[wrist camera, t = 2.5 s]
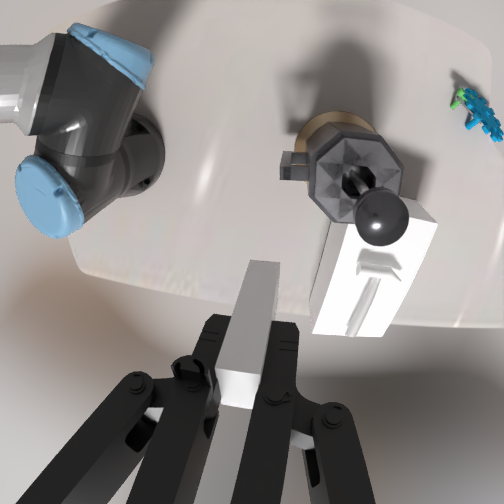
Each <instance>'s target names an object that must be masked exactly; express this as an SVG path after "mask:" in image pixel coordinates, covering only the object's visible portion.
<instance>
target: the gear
mask: <svg viewBox="0 0 504 504" xmlns="http://www.w3.org/2000/svg"><path fill="white" fill-rule="evenodd" d="M456 93H457V95H458V96H457V100H456V101H455V102H454V103H453V104H452V105H451V106H450V107H451V108H452V109H454V108H455V107H456V106H458V105H459V104H460V103H461V104H462V105H463V106H464V107H465V108H466V109H467V110H468V111H469V112H470V113H471V114H472V116H473V117H474V119H473V120H471V121H470V122H469V123H467V124H466V125H465V127H466V128H467V129H468V130H469V129H471V128H472V127H473V126H475V125H476V124H478V123H483V124H484V126H482V129H483V131H484V132H485V134H488V133H489V132H491V135H490V137H491V139H492V140H493V141H494V142H496V141H498V142H501V141H502V140H503V138H502V135H503V134H504V133H503V131H502V130H501V129H500V128H499V127H500V126H501V124H500V122H499V120H498V119H496V118H495V117H494V116H493V115H494V114H495V113H494V112H493V109H492V108H488V107H487V106H486V105H485V104H486V103H487V102H486V101H485V99H484V98H483V97H481V98H480V99H479V98H478V96H479V95H478V93H477V92H476V91H475V90H472V91H471V89H470V88H466V89H465V91H464V89H463V88H460V89H459V90H458V91H457V92H456Z"/></svg>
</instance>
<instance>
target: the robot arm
mask: <svg viewBox="0 0 504 504" xmlns="http://www.w3.org/2000/svg"><path fill="white" fill-rule="evenodd" d="M67 32H68V33H67V34H62V33H51V34H49V35H48V36H46V37H45V38H43V39H42V40H41V41H39V42H38V43H36V44H34V45H0V123H15V124H16V125H17V126H18V127H19V128H20V130H21V131H22V132H23V134H24V135H26V136H31V135H37V139H36V145H35V152H34V154H33V155H30V156H27V157H26V158H25V159H24V160H23V161H22V163H21V164H19V166H18V168H17V170H16V175H15V187H16V193H17V196H18V200H19V202H20V205H21V207H22V209H23V211H24V213H25V215H26V216H27V218H28V219H29V220H30V222H31V223H32V224H33V225H34V226H35V227H36V228H37V229H38V230H39V231H40V232H42V233H43V234H45V235H46V236H48V237H52V238H56V239H59V238H63V237H66V236H68V235H70V234H71V233H73V232H74V231H76V230H78V229H80V228H81V227H82V226H83V224H84V223H86V222H87V221H88V220H89V219H91V218H92V217H93V216H94V215H96V214H97V213H98V212H100V211H101V210H102V209H104V208H105V207H106V206H108V205H109V204H110V203H112V202H113V201H114V200H116V199H117V198H122V197H129V196H135V195H138V194H140V193H142V192H144V191H145V190H147V189H148V188H149V187H151V186H152V185H153V184H154V183H155V182H156V181H157V179H158V178H159V176H160V174H161V172H162V169H163V166H164V160H165V151H164V145H163V141H162V138H161V136H160V134H159V132H158V130H157V129H156V128H155V126H154V125H153V124H152V123H151V122H150V121H149V120H147V119H146V118H144V117H142V116H140V115H136V114H133V112H134V110H135V107H136V105H137V103H138V100H139V98H140V96H141V94H142V91H143V90H145V88H146V86H145V84H146V81H147V79H148V76H149V74H150V72H151V69H152V67H153V65H154V56H153V54H152V52H151V51H150V50H148V49H146V48H144V47H142V46H140V45H137V44H135V43H133V42H130V41H128V40H125V39H123V38H120V37H118V36H115V35H112V34H109V33H107V32H104V31H101V30H98V29H95V28H92V27H89V26H86V25H83V24H80V23H74V24H72V25H71V27H70V28H68V30H67ZM279 274H280V262H269V261H258V260H250V262H249V265H248V268H247V271H246V274H245V277H244V280H243V283H242V286H241V290H240V293H239V296H238V299H237V302H236V305H235V308H234V311H233V314H232V316H226V315H219V314H213V315H212V316H211V317H210V318H209V319H208V320H207V321H206V322H205V325H204V327H203V329H202V332H201V335H200V337H199V340H198V342H197V344H196V347H195V349H194V351H193V354H192V355H186V356H183V357H180V358H178V359H177V360H175V361H174V362H173V364H172V365H171V369H172V371H173V374H174V376H175V377H173V378H165V379H164V378H163V379H152V378H151V377H150V376H149V375H148V374H147V373H144V372H141V371H139V372H132V373H129V374H128V375H127V376H125V377H124V378H123V379H122V380H121V381H120V383H119V384H118V385H117V386H116V387H115V388H114V389H113V391H112V392H111V393H110V394H109V395H108V396H107V397H106V398H105V400H104V401H103V402H102V403H101V404H100V405H99V406H98V408H97V409H96V410H95V411H94V412H93V413H92V414H91V416H90V417H89V418H88V419H87V420H86V421H85V422H84V424H83V425H82V426H81V427H80V428H79V429H78V431H77V432H76V433H75V434H74V435H73V436H72V437H71V439H70V440H69V441H68V442H67V443H66V444H65V446H64V447H63V448H62V449H61V450H60V452H59V453H58V454H57V455H56V456H55V457H54V459H53V460H52V461H51V462H50V463H49V464H48V466H47V467H46V468H45V469H44V470H43V471H42V473H41V474H40V475H39V476H38V477H37V479H36V480H35V481H34V482H33V483H32V484H31V486H30V487H29V488H28V489H27V490H26V492H25V493H24V494H23V495H22V496H21V498H20V499H19V500H18V501H17V503H16V504H107V503H108V502H109V501H110V500H111V498H112V497H113V496H114V494H115V493H116V492H117V490H118V489H119V488H120V487H121V485H122V484H123V483H124V482H125V480H126V479H127V478H128V476H129V475H130V474H131V472H132V471H133V470H134V469H135V467H136V466H137V464H138V463H139V462H140V461H141V459H142V458H143V457H144V458H143V461H142V463H141V466H140V468H139V471H138V473H137V476H136V479H135V481H134V484H133V486H132V489H131V492H130V494H129V497H128V500H127V502H126V504H193V503H194V500H195V497H196V493H197V490H198V486H199V483H200V479H201V476H202V473H203V469H204V466H205V462H206V459H207V455H208V452H209V449H210V445H211V442H212V438H213V435H214V431H215V427H216V424H217V421H218V417H219V411H218V408H219V404H220V401H221V403H222V404H223V405H229V406H235V407H241V408H247V409H252V414H251V419H250V423H249V427H248V432H247V437H246V441H245V446H244V450H243V454H242V458H241V463H240V467H239V471H238V475H237V480H236V483H235V488H234V492H233V496H232V500H231V503H230V504H280V502H281V495H282V490H283V484H284V478H285V472H286V464H287V458H288V451H289V444H291V445H294V446H297V447H299V448H302V453H303V459H304V465H305V470H306V476H307V482H308V488H309V495H310V501H311V504H376V503H375V499H374V495H373V491H372V487H371V483H370V479H369V475H368V471H367V467H366V463H365V460H364V456H363V453H362V449H361V445H360V442H359V438H358V435H357V431H356V427H355V424H354V421H353V417H352V414H351V412H350V411H349V409H348V408H347V407H346V406H344V405H343V404H340V403H337V402H328V403H325V404H323V405H320V404H317V403H315V402H312V401H309V400H307V399H305V398H304V397H303V396H302V395H300V393H299V392H298V390H297V388H296V370H297V358H298V345H299V330H298V328H297V326H296V324H295V323H292V322H281V321H275V315H276V309H277V302H278V288H279ZM144 455H145V456H144Z"/></svg>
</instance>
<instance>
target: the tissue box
mask: <svg viewBox="0 0 504 504" xmlns="http://www.w3.org/2000/svg"><path fill="white" fill-rule="evenodd" d="M399 197H400V196H399ZM400 199H401V200H402V201H403V202H404V203H405V205H406V207H407V209H408V212H409V224H408V227H407V229H406V231H405V233H404V234H403V236H402V237H401V238H400V239H399V240H398V241H396V242H395V243H393V244H390V245H387V246H373V245H370V244H368V243H366V242H365V241H364V240H363V239H362V238H361V237H360V235H359V233H358V231H357V228H356V226H355V224H345V223H334V222H332V221H331V224H330V228H329V232H328V236H327V240H326V244H325V247H324V251H323V255H322V258H321V262H320V266H319V269H318V273H317V276H316V279H315V283H314V286H313V290H312V293H311V296H310V300H309V306H310V317H311V328H312V333H313V334H327V335H344V336H348V337H355V336H367V337H382V336H383V334H384V332H385V330H386V329H387V327H388V326H389V324H390V322H391V321H392V319H393V317H394V315H395V314H396V312H397V310H398V308H399V306H400V305H401V303H402V301H403V299H404V297H405V295H406V293H407V291H408V289H409V288H410V286H411V284H412V282H413V280H414V278H415V275H416V273H417V271H418V269H419V267H420V265H421V263H422V261H423V258H424V256H425V254H426V252H427V249H428V247H429V245H430V242H431V240H432V238H433V235H434V233H435V230H436V228H437V225H438V223H437V222H436V221H435V220H434V219H433V218H432V217H431V216H430V215H429V213H428V212H427V211H426V210H425V209H424V208H423V207H422V206H421V205H420V204H419V203H418V202H417V201H415V200H411V199H408V198H404V197H400Z"/></svg>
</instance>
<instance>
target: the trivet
mask: <svg viewBox="0 0 504 504" xmlns="http://www.w3.org/2000/svg"><path fill="white" fill-rule="evenodd" d="M328 121H330V122H346V123H352V124H358V125H360V126H362V127H364V128H366V129H368V130H371V131H373V132H375V131H374V129H373V128H372V127H371V126H370V125H369V124H368V123H367V122H366V121H365V120H363V119H362V118H360V117H358V116H356V115H354V114H351V113H348V112H342V111H332V112H326V113H323V114H320V115H318V116H316V117H314V118H313V119H311V120H310V121H309V122H308V123H307V124H306V125H305V126H304V127H303V129H302V130H301V131H300V133H299V135H298V138H297V140H296V144H295V152H305V149H306V140H307V139H308V138H309V137H310V136H311V135H312V134H313V132H314V131H315V130H316V129H318V128H319V127H321V126H322V125H324V124H325V123H326V122H328ZM375 133H376V132H375ZM296 165H305V164H296ZM305 182H306V183H307V181H305Z"/></svg>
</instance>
